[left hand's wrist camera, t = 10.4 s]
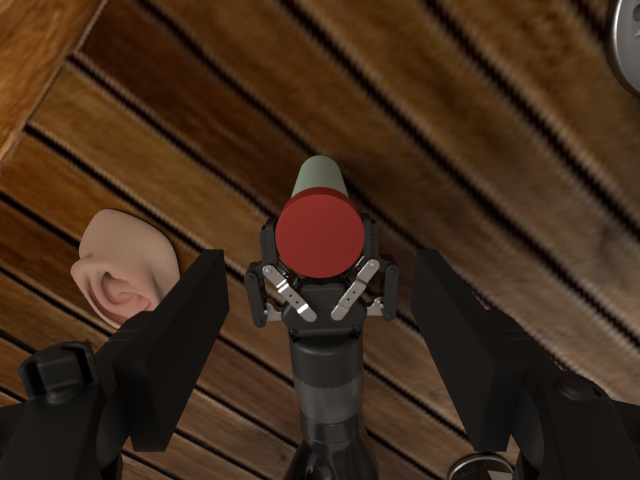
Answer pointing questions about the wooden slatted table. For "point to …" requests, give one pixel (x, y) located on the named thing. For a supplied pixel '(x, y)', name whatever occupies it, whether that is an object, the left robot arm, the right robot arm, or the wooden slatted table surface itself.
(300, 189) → the pale green slim bottle
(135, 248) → the anatomical model
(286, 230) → the lid
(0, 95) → the wooden slatted table surface
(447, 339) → the left robot arm
